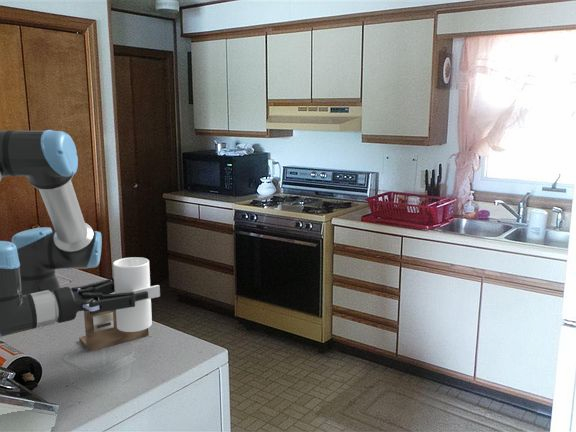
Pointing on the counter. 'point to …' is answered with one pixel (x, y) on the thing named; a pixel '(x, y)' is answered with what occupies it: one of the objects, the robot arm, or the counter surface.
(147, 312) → the cup
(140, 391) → the counter surface
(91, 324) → the label board
